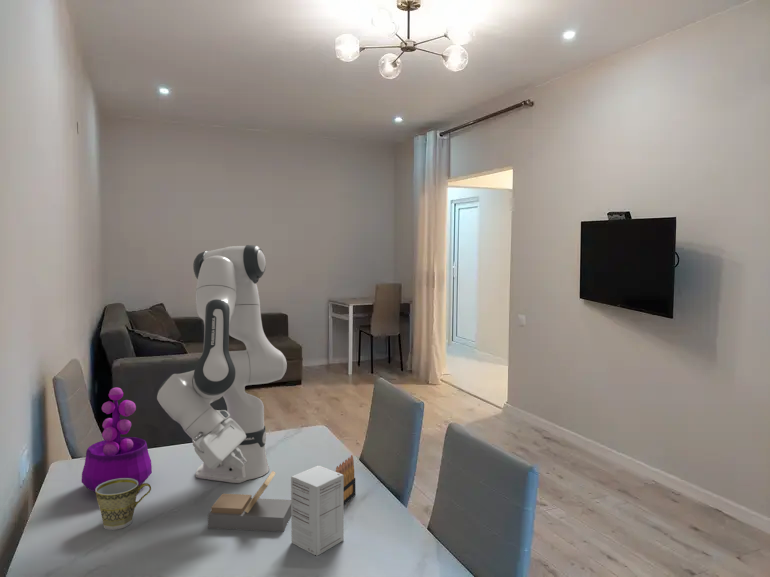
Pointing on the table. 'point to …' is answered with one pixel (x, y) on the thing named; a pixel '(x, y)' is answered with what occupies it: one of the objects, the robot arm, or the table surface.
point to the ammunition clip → (348, 478)
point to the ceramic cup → (118, 501)
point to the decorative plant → (116, 448)
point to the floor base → (249, 513)
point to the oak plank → (260, 492)
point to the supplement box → (317, 509)
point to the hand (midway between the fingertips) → (243, 465)
